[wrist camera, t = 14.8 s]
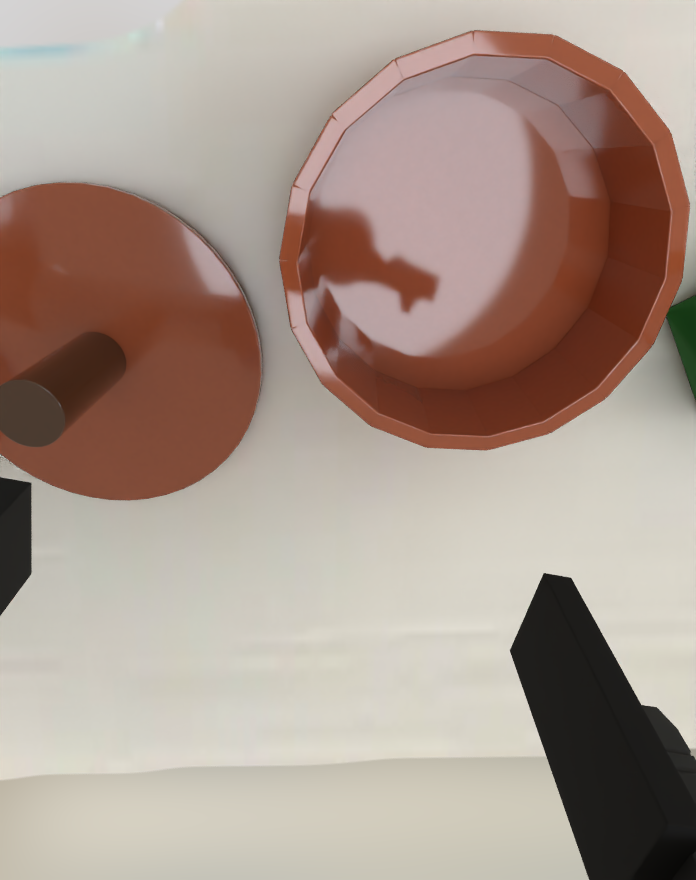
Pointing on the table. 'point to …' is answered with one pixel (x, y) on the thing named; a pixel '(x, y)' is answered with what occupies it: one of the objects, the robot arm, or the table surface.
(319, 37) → the table surface
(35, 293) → the lid
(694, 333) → the milk carton
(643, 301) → the pot
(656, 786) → the robot arm
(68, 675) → the table surface
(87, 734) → the table surface
